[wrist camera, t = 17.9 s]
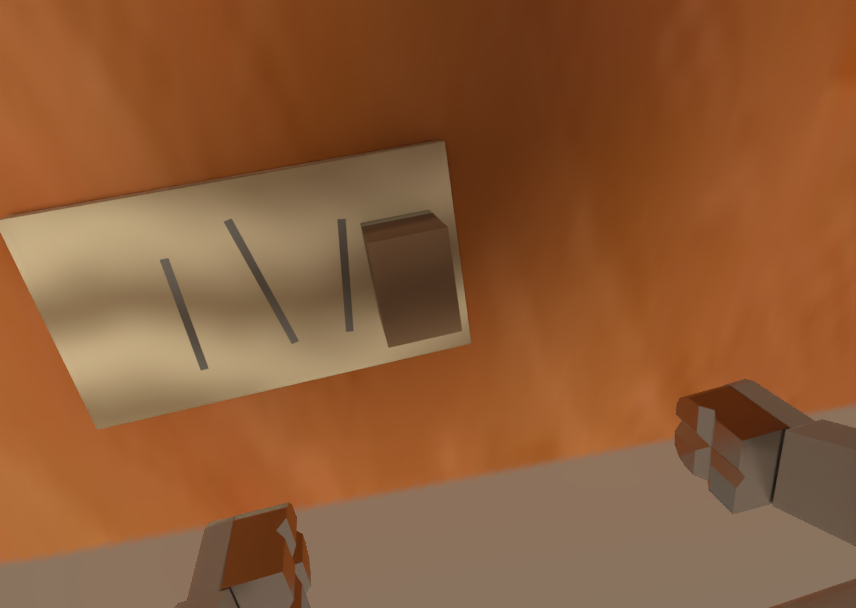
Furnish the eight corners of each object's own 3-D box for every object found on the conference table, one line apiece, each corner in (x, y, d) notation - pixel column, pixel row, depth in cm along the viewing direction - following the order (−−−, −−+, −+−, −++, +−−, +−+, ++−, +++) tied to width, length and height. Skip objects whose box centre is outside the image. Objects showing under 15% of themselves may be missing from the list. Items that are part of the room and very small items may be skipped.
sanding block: (360, 223, 25) (367, 243, 21) (429, 209, 25) (447, 227, 22) (379, 314, 27) (388, 347, 23) (443, 301, 27) (462, 331, 24)
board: (10, 215, 23) (-6, 220, 22) (439, 139, 26) (444, 141, 24) (106, 416, 27) (97, 429, 26) (465, 334, 30) (471, 343, 29)
